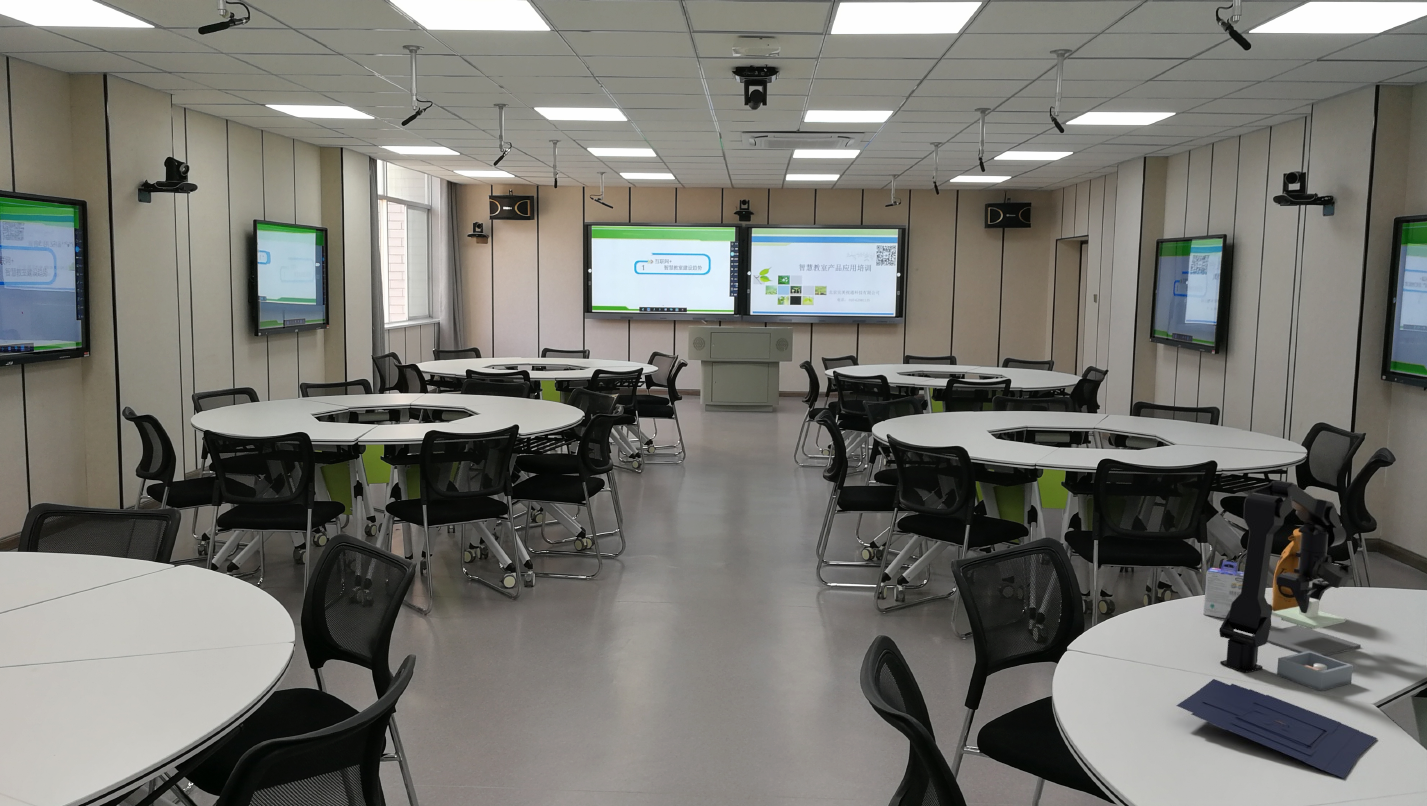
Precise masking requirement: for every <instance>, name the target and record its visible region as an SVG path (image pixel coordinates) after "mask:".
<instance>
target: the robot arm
mask: <svg viewBox="0 0 1427 806" xmlns="http://www.w3.org/2000/svg"><path fill="white" fill-rule="evenodd" d="M1242 505H1243V507H1242V508H1243V521H1244V523H1245V524H1246V527H1247V528H1248V531H1249V534H1248V541H1247V548H1246V556H1245V562H1244V569H1243V572H1244V575H1243V582H1242V589H1241V594H1240V595H1239V596H1238V597H1237V598H1236V599H1235V600H1234V601H1233V602H1232V604H1231V608H1230V611H1229V612H1228V614H1227V616H1226V618H1224V620H1223V622H1222V623H1221V625H1220V627H1219V636H1220V638H1224V639H1227V650H1226V659H1224V660H1220V662H1219V664H1221V665H1223V666H1226V667H1228V668H1231V669H1234V670H1237V671H1239V672H1242V673H1250V672H1254V671H1258V670H1262V669H1263V665H1261V664H1257V663H1258V653H1259V647H1261V646H1265V645H1267V643H1268V642H1267V640H1268V636H1269V632H1270V631H1271V627H1272V612H1273V608H1272V604H1270V603H1268V601H1267V599H1266V592H1267V591H1266V590H1267V582H1268V575H1269V570H1270V569H1269V568H1270V562H1271V561H1270V560H1271V554H1272V548H1273V540H1274V535H1275V534H1276V533H1277V532H1278V531H1279V530H1280V528H1282V526H1284V522H1285V518H1286V517H1287V516H1288V515H1289V514H1290V513H1291V512H1292V511H1293V510H1296V511H1295V515H1296V516H1297V517H1298V518H1299V520H1300V521H1303V523H1304V524H1303V525H1302V526H1301V527H1299V528H1298V529H1299V530H1298V532H1300V533H1301V541H1300V552H1296V553H1295V556H1296V557H1299V565H1298V568H1295V569H1294V573H1298V574H1299V575H1297V574H1294V573H1290V572H1288V573H1282V574H1279V575H1278V576H1276V585H1280V586H1283V587H1287V588H1290V589H1291V591H1292V593H1293V595H1294V597H1295V599H1296V601H1297V603H1298V606H1299V608H1300V610H1301V612H1302V613H1307V609H1308V605H1309V600H1310V598H1313V599H1317V600H1319V602H1320V601H1321V599H1322V597H1323V596H1324V593H1325V592H1326V591H1327V590H1329V589H1331V588H1334V589H1335V588H1336V589H1339V588H1341V587H1343V588H1344V587H1346V586H1348V582H1349V581H1351V580H1352V581H1353V579H1354V577H1353V576H1354V574H1353V572H1354V571H1353V566H1351V565H1350V564H1348V563H1345V564H1342V565H1339V564H1335V563H1332V557H1331V555H1330V554H1327V553H1328V548H1331V547H1334V546H1338V545H1341V544H1343V543H1344V542H1345V540H1346V539H1347V532H1346V530H1345V528H1344V526H1342V522H1341V521H1340V517H1339V514H1338V510H1337V508H1336V506H1335V504H1334V503H1333V501H1330V500H1324V499H1321V498H1320V499H1319V498H1315V497H1313V496H1312V495H1311V494H1309V493H1307V492H1306V491H1304V490H1303V489H1301V488H1300V487H1299V486H1298V485H1297V484H1296V483H1294V482H1291V481H1283V480H1278V479H1276V480H1272V481H1271V482H1270V483H1269V484H1268V485H1265V486H1261V487H1258V488H1256V489H1253V491H1251V492H1250V493H1249V494H1248V495H1247V496H1246V497H1245V499H1244V501H1243V503H1242ZM1235 630H1236V631H1235ZM1239 631H1240V632H1239ZM1249 634H1250V635H1249ZM1252 635H1255V636H1254V637H1253V636H1252Z"/></svg>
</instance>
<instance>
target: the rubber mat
mask: <svg viewBox="0 0 1427 806" xmlns="http://www.w3.org/2000/svg"><path fill="white" fill-rule="evenodd" d="M1251 636H1253V637H1254V636H1255V635H1253V634H1251ZM1267 643H1268V644H1271V645H1274V646H1277V647H1280V648H1282V649H1286V650H1289V651H1292V652H1294V653H1296V654H1298V653H1302V652H1306V651H1311V652H1314V653H1317V654H1320V655H1323V656H1326V657H1328V656H1330V655H1335V654H1338V653H1342V652H1347V651H1350V650H1354V649H1358V648H1359V649H1360V648H1361V646H1362V645H1361V644H1359V643H1356V642H1353V641H1349V640H1347V639H1344V638H1340V637H1337V636H1334V635H1331V634H1328V633H1327V634H1326V633H1324V632H1321V631H1318V630H1316V629H1309V628H1306V627H1303V626H1299V625H1296V624H1295V625H1292V626H1287V627H1282V628H1278V629H1274V630H1270V632H1269V636H1268V640H1267Z"/></svg>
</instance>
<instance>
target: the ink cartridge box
mask: <svg viewBox="0 0 1427 806" xmlns="http://www.w3.org/2000/svg"><path fill="white" fill-rule="evenodd" d="M1225 565H1231V566H1233V567H1230V566H1225ZM1205 575H1206V576H1205V588H1204V589H1205V590H1204V592H1205V593H1204V600H1203V601H1204V603H1203V615H1204V616H1205V615H1206V616H1211V617H1216V618H1221V619H1225V618H1226V616H1227V614H1228V612H1229V611H1230V608H1231V604H1232V602H1233V601H1234V600H1235V599H1236V598H1237V597H1238V596H1239V595H1240V594H1241V589H1242V582H1243V575H1244V571H1238V562H1233V561H1226V560H1222V564H1221V567H1220V568H1217V567H1210V568H1209V569H1208V570H1207V571H1206V574H1205Z"/></svg>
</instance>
